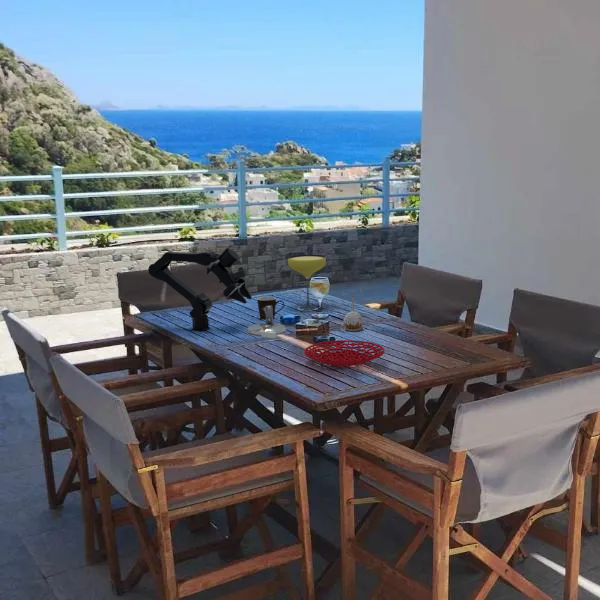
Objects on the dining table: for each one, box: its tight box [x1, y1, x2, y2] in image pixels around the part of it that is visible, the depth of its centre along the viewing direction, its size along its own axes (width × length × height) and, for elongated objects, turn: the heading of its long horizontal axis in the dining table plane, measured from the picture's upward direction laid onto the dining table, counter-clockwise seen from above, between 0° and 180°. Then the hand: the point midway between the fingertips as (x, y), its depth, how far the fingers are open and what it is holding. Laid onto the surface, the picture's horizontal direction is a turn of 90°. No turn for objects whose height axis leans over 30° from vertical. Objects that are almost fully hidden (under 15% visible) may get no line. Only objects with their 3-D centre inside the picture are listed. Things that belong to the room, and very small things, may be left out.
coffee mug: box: [256, 296, 285, 320], centre depth 371 cm, size 12×9×10 cm
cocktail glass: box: [287, 254, 327, 310], centre depth 391 cm, size 18×18×25 cm
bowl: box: [303, 339, 386, 368], centre depth 299 cm, size 29×29×5 cm
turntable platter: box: [247, 306, 287, 337], centre depth 346 cm, size 16×16×10 cm
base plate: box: [243, 330, 277, 339], centre depth 346 cm, size 20×20×4 cm
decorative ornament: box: [343, 294, 363, 332], centre depth 348 cm, size 8×8×15 cm
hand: (248, 300), depth 351 cm, fingers open, 8 cm apart
